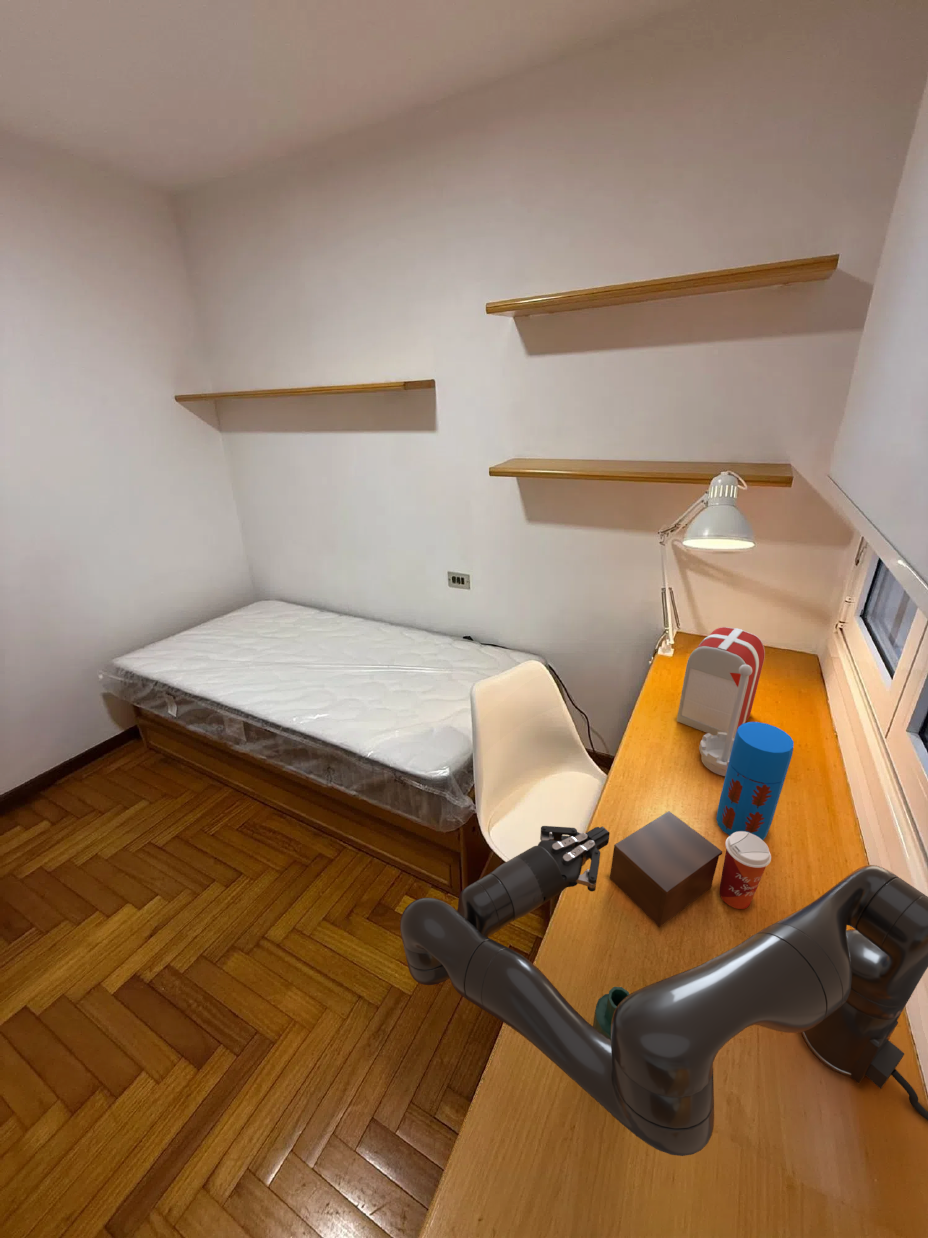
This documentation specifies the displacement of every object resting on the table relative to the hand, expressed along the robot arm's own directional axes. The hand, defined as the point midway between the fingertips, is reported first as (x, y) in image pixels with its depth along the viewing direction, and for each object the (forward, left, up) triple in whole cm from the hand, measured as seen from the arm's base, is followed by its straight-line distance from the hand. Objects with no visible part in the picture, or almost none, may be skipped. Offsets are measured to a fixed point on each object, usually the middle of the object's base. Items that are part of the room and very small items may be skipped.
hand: (606, 833), depth 87 cm
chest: (0, -19, -25) cm, 31 cm away
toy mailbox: (+29, -79, -25) cm, 87 cm away
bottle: (-16, +12, -25) cm, 32 cm away
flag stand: (+15, -63, -25) cm, 69 cm away
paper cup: (-10, -29, -25) cm, 39 cm away
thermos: (0, -47, -25) cm, 53 cm away
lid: (0, -19, -16) cm, 25 cm away
